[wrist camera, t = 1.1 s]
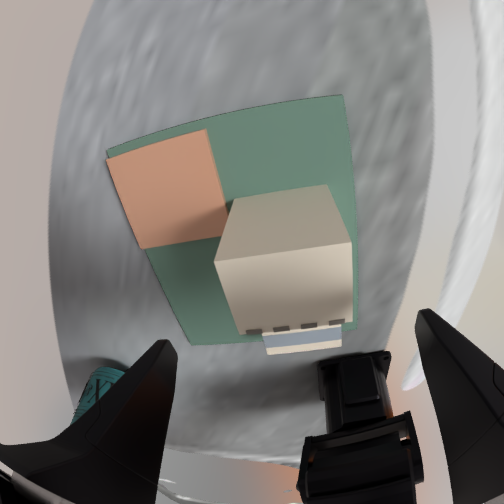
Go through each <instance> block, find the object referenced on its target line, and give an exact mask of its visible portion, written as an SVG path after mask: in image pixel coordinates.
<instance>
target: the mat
mask: <svg viewBox="0 0 504 504" xmlns="http://www.w3.org/2000/svg"><path fill="white" fill-rule="evenodd" d="M205 128H206V130H207V134H208V138H209V141H210V145H211V149H212V153H213V156H214V160H215V164H216V168H217V171H218V175H219V179H220V182H221V186H222V190H223V193H224V197H225V201H226V204H227V208H228V212H229V213H230V210H231V207H232V204H233V201H234V199H236V198H242V197H248V196H253V195H259V194H265V193H271V192H277V191H284V190H290V189H297V188H303V187H310V186H317V185H324V184H327V186H328V188H329V190H330V193H331V195H332V197H333V199H334V201H335V204H336V206H337V208H338V211H339V213H340V215H341V218H342V220H343V222H344V225H345V227H346V230H347V232H348V234H349V237H350V239H351V242H352V268H353V322H346V323H345V324H341V332H342V331H348V330H355V329H357V315H358V243H357V219H356V202H355V188H354V176H353V166H352V156H351V147H350V139H349V131H348V124H347V117H346V110H345V104H344V97H343V95H333V96H324V97H315V98H307V99H300V100H293V101H286V102H280V103H274V104H269V105H263V106H258V107H253V108H248V109H243V110H238V111H233V112H229V113H225V114H220V115H216V116H212V117H208V118H204V119H200V120H196V121H193V122H189V123H186V124H182V125H178V126H175V127H172V128H168V129H165V130H162V131H159V132H156V133H152V134H149V135H146V136H143V137H140V138H137V139H135V140H132V141H129V142H126V143H123V144H121V145H118V146H115V147H113V148H110V149H108V150H107V153H108V156H109V158H111V157H114V156H116V155H119V154H122V153H125V152H128V151H131V150H133V149H136V148H139V147H143V146H146V145H149V144H152V143H155V142H158V141H162V140H165V139H168V138H172V137H175V136H179V135H182V134H186V133H190V132H193V131H197V130H201V129H205ZM221 237H222V236H218V237H212V238H206V239H200V240H193V241H187V242H181V243H175V244H170V245H164V246H158V247H152V248H146V249H145V251H146V253H147V256H148V258H149V260H150V262H151V265H152V267H153V269H154V271H155V273H156V276H157V278H158V280H159V282H160V284H161V286H162V288H163V290H164V293H165V295H166V297H167V299H168V301H169V303H170V305H171V307H172V309H173V311H174V313H175V315H176V317H177V319H178V321H179V323H180V325H181V327H182V329H183V330H184V332H185V334H186V336H187V338H188V340H189V342H190V344H191V345H212V344H230V343H244V342H256V341H264V340H263V337H262V334H252V335H247V334H244V335H239V332H238V329H237V327H236V324H235V321H234V318H233V316H232V313H231V310H230V307H229V304H228V302H227V299H226V296H225V293H224V290H223V287H222V284H221V282H220V279H219V276H218V273H217V270H216V267H215V264H214V259H215V256H216V253H217V250H218V247H219V244H220V241H221Z"/></svg>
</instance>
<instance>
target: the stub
mask: <svg viewBox="0 0 504 504" xmlns="http://www.w3.org/2000/svg"><path fill="white" fill-rule="evenodd" d="M214 264H215V267H216V270H217V273H218V276H219V279H220V282H221V284H222V287H223V290H224V293H225V296H226V299H227V302H228V304H229V307H230V310H231V313H232V316H233V318H234V321H235V324H236V327H237V329H238V332H239V335H244V334H247V335H252V334H262V333H266V332H283V331H290V330H295V329H309V328H316V327H319V326H326V325H329V326H331V325H338V324H345V323H346V322H353V268H352V242H351V239H350V237H349V234H348V232H347V230H346V227H345V225H344V222H343V220H342V218H341V215H340V213H339V211H338V208H337V206H336V204H335V201H334V199H333V197H332V195H331V193H330V190H329V188H328V186H327V184H324V185H317V186H310V187H303V188H297V189H290V190H284V191H277V192H271V193H265V194H259V195H253V196H248V197H242V198H236V199H234V201H233V204H232V207H231V210H230V213H229V216H228V219H227V222H226V225H225V228H224V231H223V234H222V237H221V241H220V244H219V247H218V250H217V253H216V256H215V259H214Z"/></svg>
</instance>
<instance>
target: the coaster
mask: <svg viewBox="0 0 504 504" xmlns="http://www.w3.org/2000/svg"><path fill="white" fill-rule="evenodd" d="M106 162H107V164H108V167H109V170H110V173H111V176H112V178H113V181H114V184H115V187H116V189H117V192H118V195H119V197H120V200H121V202H122V205H123V207H124V210H125V212H126V215H127V217H128V220H129V222H130V225H131V227H132V230H133V232H134V234H135V237H136V239H137V241H138V244H139V246H140V248H141V249H146V248H152V247H158V246H164V245H170V244H175V243H181V242H187V241H193V240H200V239H206V238H212V237H218V236H222V234H223V231H224V228H225V225H226V222H227V219H228V216H229V212H228V208H227V204H226V201H225V197H224V193H223V190H222V186H221V182H220V179H219V175H218V171H217V168H216V164H215V160H214V156H213V153H212V149H211V145H210V141H209V138H208V134H207V130H206V128H205V129H201V130H197V131H193V132H190V133H186V134H182V135H179V136H175V137H172V138H168V139H165V140H162V141H158V142H155V143H152V144H149V145H146V146H143V147H139V148H136V149H133V150H131V151H128V152H125V153H122V154H119V155H116V156H114V157H111V158H109V159H107V160H106Z"/></svg>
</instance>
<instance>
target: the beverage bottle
mask: <svg viewBox="0 0 504 504" xmlns="http://www.w3.org/2000/svg"><path fill="white" fill-rule="evenodd" d="M123 374H124V372H122V371H120V370H117V369H114V368H109V367H100V368H98V369H97V370H96V371H95V372H93V375H90V376H92V377H90V380H88V382H89V383H87V384H86V386H85V389H86V390H85V389H84V390H83V394H82V396H81V398H82V399H81V398H80V400H81V401H80V400H79V401H78V403H79V402H80V403H79V406H77V407H78V408H77V410H76V409H75V411H76V412H74V413H75V415H74V417H73V419H72V422H71V424H72V423H74V422H75V421H76V420H77V419H78V418H79V417H81V416H82V415H83V414H84V413H85V412H86V411H87V410H88V409H89V408H90V407H91V406H92V405H93V404H94V403H95V402H96V401H97V400H98V399H100V397H101V396H102V395H103V394H104V393H105V392H106V391H107V390H108V389H109V388H110V387H111V386H112V385H113V384H114V383H115V382H116V381H117V380H118V379H119V378H120V377H121V376H122V375H123ZM87 385H88V386H87ZM86 387H87V388H86ZM71 424H70V425H71Z"/></svg>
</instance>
